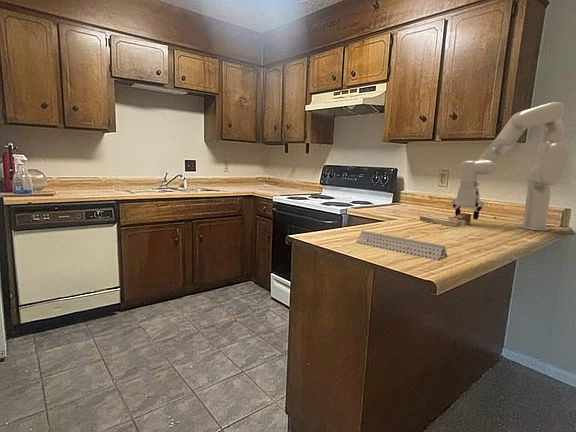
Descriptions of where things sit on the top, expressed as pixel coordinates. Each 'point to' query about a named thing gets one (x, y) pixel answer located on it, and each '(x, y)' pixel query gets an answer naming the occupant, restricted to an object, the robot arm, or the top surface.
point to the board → (443, 220)
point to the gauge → (462, 217)
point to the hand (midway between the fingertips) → (466, 218)
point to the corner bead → (400, 241)
